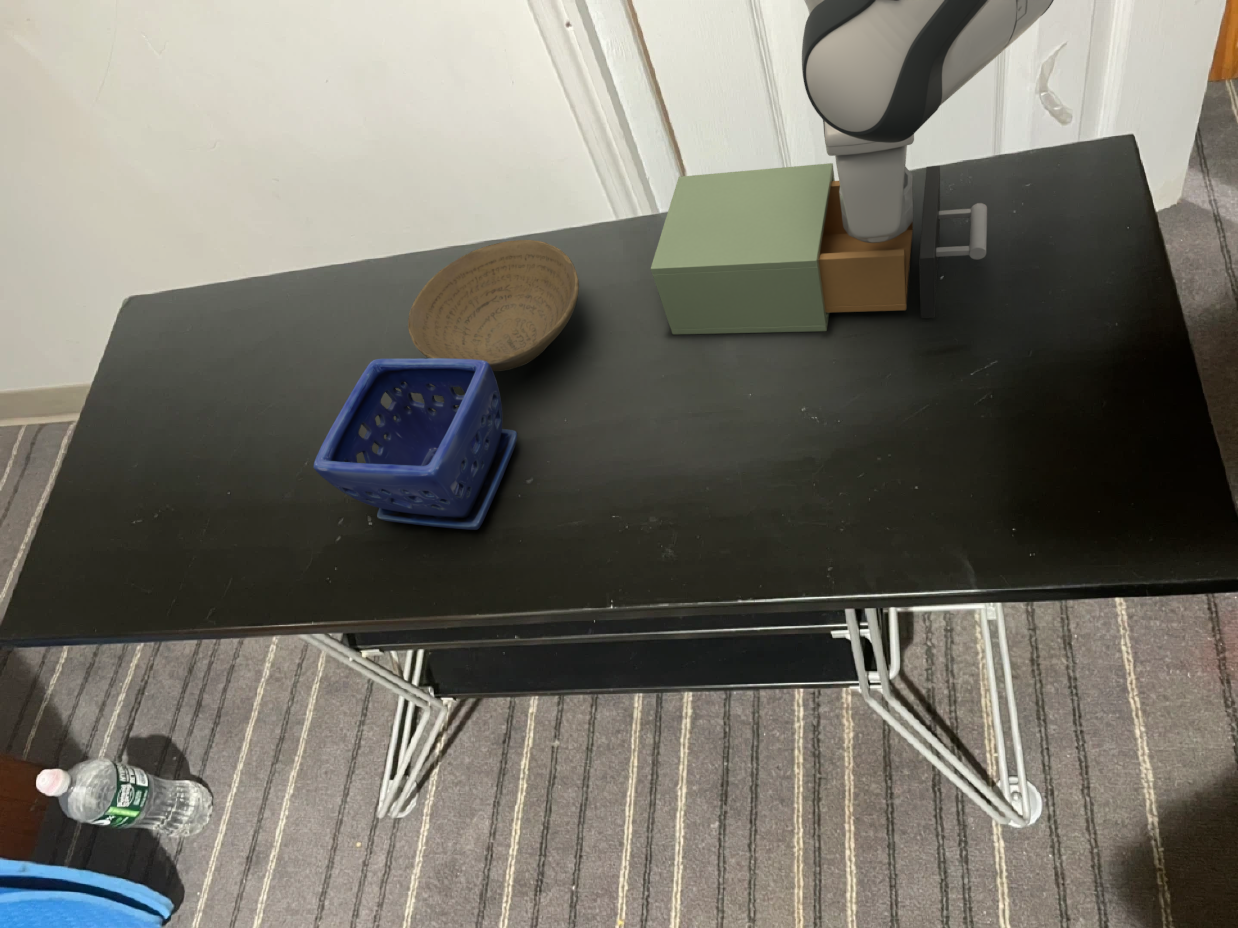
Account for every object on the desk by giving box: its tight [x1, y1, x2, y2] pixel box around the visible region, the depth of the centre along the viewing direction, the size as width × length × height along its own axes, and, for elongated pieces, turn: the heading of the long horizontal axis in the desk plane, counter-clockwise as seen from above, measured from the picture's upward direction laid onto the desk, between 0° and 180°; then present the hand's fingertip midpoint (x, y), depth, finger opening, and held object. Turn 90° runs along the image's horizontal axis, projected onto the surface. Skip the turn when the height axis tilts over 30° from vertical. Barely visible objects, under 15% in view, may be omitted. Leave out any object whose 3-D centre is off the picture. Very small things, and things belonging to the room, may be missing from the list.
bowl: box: [407, 239, 580, 372], centre depth 94 cm, size 18×18×8 cm
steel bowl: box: [839, 165, 915, 243], centre depth 80 cm, size 6×6×4 cm
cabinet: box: [650, 162, 836, 335], centre depth 89 cm, size 16×14×9 cm
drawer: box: [818, 165, 988, 319], centre depth 84 cm, size 19×12×7 cm, turn 76°
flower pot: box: [313, 357, 518, 531], centre depth 83 cm, size 13×13×12 cm
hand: (877, 208), depth 81 cm, fingers closed on steel bowl, 6 cm apart
